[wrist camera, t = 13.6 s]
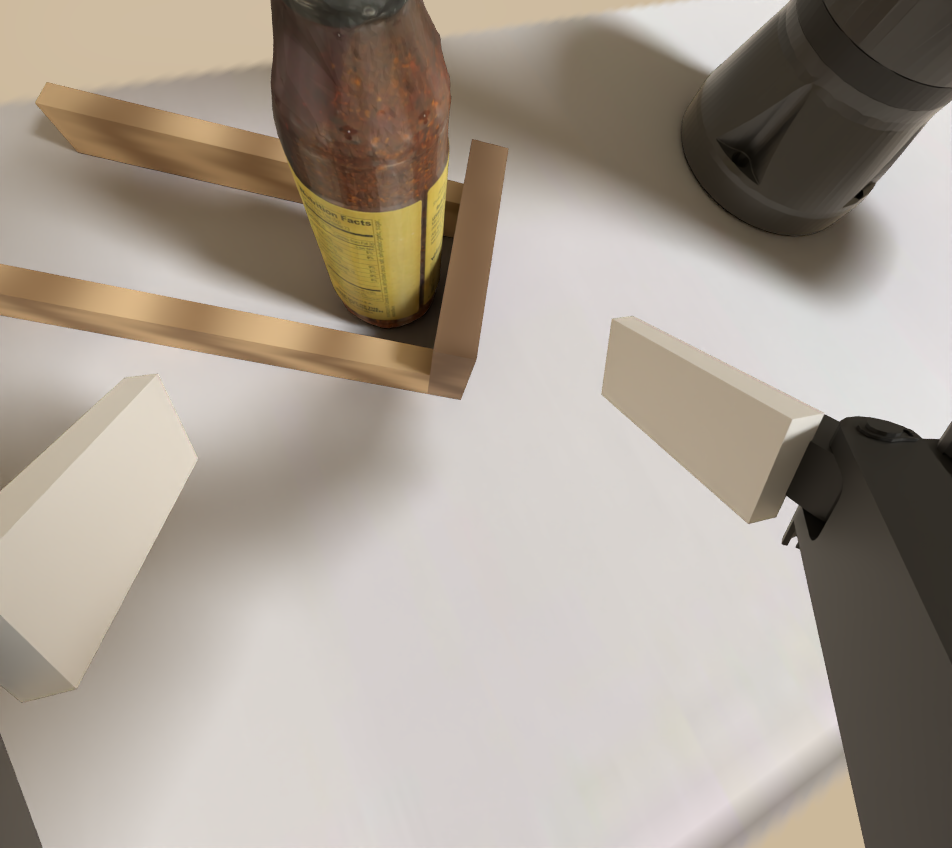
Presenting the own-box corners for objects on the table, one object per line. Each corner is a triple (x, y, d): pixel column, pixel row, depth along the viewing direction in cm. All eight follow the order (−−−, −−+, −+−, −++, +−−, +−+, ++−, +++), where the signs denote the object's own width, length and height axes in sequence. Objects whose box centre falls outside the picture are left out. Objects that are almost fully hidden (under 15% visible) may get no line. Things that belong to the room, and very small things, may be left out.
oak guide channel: (488, 226, 28) (508, 148, 22) (460, 399, 25) (476, 359, 19) (87, 132, 25) (-6, 16, 20) (-6, 314, 22) (-151, 236, 16)
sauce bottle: (394, 228, 27) (361, -487, 8) (457, 297, 27) (582, -294, 8) (308, 281, 25) (7, -481, 6) (375, 357, 25) (265, -227, 6)
